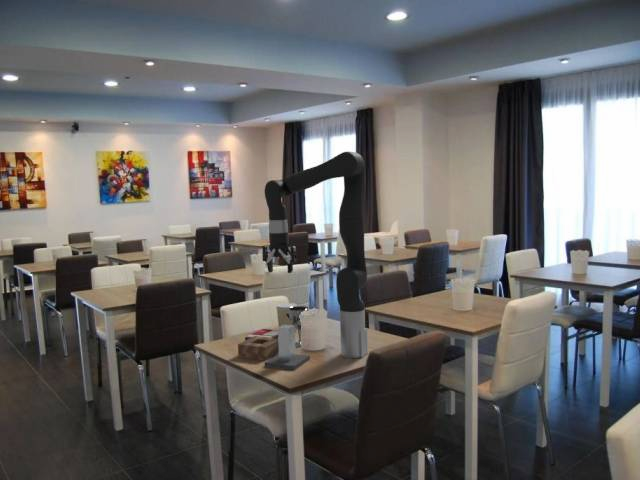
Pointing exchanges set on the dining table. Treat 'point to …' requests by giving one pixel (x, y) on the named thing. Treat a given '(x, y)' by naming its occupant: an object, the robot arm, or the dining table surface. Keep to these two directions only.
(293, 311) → the wine glass
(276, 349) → the socket block
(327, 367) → the dining table surface
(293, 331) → the peg
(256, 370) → the dining table surface
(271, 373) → the dining table surface
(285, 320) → the coffee cup
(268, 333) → the calculator
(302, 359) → the mat
